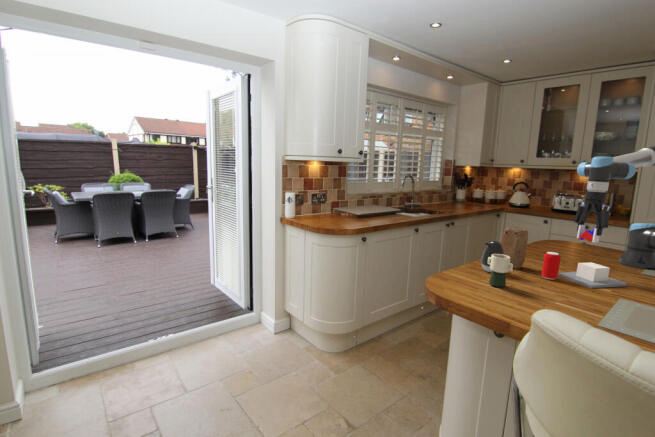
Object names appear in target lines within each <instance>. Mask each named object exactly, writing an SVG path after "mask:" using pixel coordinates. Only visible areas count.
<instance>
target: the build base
mask: <svg viewBox="0 0 655 437" xmlns="http://www.w3.org/2000/svg"><path fill="white" fill-rule="evenodd" d="M610 268H611V267H609V266H604V265H603V264H597V263H594V262H578V263H577V268H576V271H571V272H558V277H561V278H563V279H566V280H569V281H571V282H574V283H576V284H579V285H581V286H584V287H587V288H589V289H598V288H600V289H602V288H615V287H616V288H617V287H627V286H628V283H627V282H624V281H621V280H618V279H615V278H613V277H611V276H610V277H609V274H610Z"/></svg>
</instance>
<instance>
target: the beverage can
mask: <svg viewBox="0 0 655 437" xmlns="http://www.w3.org/2000/svg"><path fill="white" fill-rule="evenodd" d="M560 266H561V255H560V254H559V253H558V252H556V251H555V252H554V251H547V252H546V253H545V254H544V256H543V263H542V270H541V277H543V278H544V279H546V280H550V281H551V280H552V281H553V280H554V281H555V280H556V279H558V277H559V276H558V273H559V269H560Z"/></svg>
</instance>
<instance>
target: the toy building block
mask: <svg viewBox="0 0 655 437" xmlns="http://www.w3.org/2000/svg"><path fill="white" fill-rule="evenodd" d="M594 229H595V227H594V228H593V229H592V230H590V229H588V230H586V229H585V230H584V233H583V234H582V235H581V236H580V237H579V238H577V239H578V240H579V241H582V240H585V241H587V242H588V243H593V242H592V240H593V234H594Z"/></svg>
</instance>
